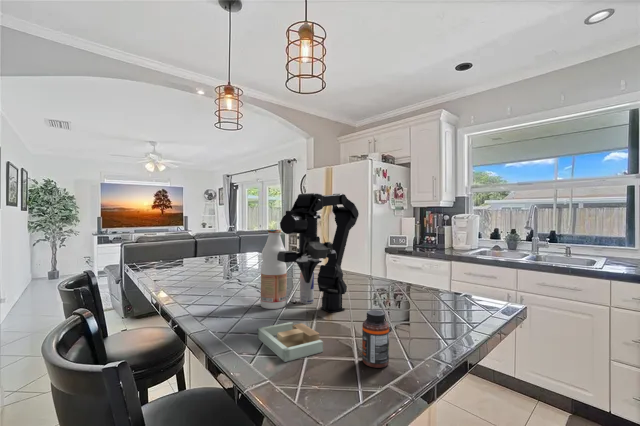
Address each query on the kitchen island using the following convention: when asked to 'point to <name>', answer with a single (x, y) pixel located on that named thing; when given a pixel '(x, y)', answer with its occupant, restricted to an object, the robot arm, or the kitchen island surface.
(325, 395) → the kitchen island surface
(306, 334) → the t block
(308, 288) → the energy drink
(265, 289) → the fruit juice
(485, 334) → the kitchen island surface
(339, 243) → the robot arm
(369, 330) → the supplement bottle
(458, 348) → the kitchen island surface
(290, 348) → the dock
